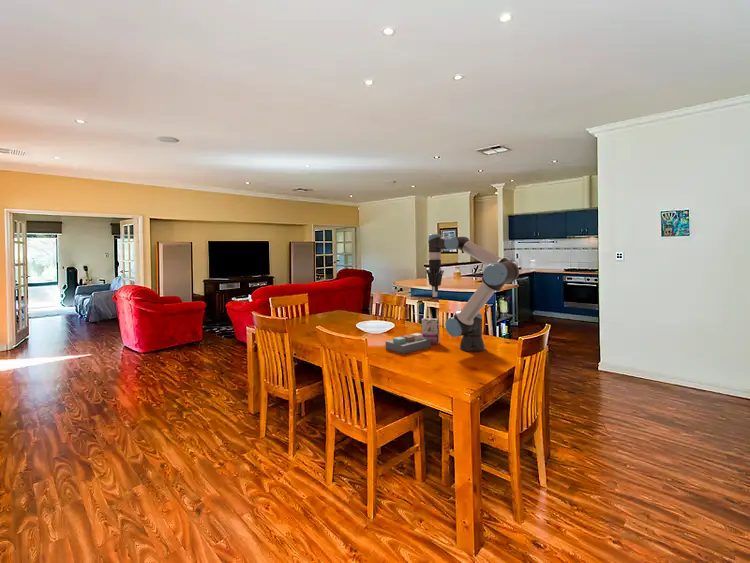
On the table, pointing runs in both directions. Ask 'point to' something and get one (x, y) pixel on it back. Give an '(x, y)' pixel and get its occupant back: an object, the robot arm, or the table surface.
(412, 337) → the walnut key
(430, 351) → the table surface
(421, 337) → the ivory key
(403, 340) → the teal key
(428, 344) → the dark grey tray
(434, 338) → the candy bar box
